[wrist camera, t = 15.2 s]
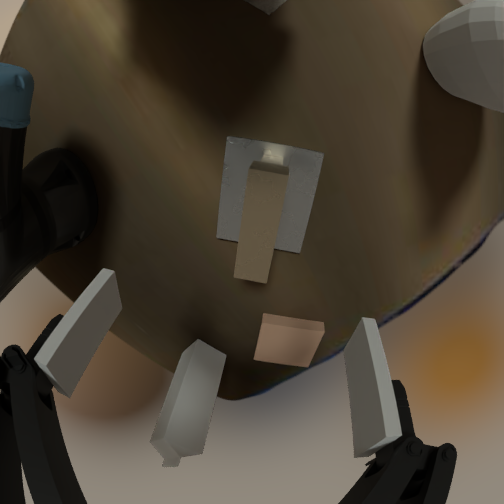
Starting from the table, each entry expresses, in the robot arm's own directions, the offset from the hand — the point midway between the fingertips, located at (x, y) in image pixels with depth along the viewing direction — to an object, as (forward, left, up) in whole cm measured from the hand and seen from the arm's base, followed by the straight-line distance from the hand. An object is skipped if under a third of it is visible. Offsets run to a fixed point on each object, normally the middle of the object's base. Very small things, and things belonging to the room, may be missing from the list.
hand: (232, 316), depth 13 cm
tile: (+7, -17, -18) cm, 26 cm away
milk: (-6, -30, -19) cm, 36 cm away
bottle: (+18, +22, -19) cm, 34 cm away
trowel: (0, 0, -19) cm, 19 cm away
